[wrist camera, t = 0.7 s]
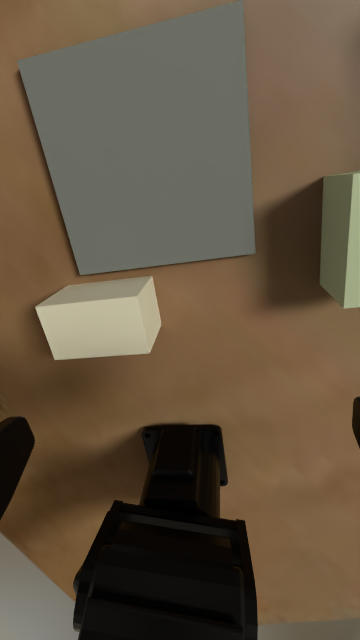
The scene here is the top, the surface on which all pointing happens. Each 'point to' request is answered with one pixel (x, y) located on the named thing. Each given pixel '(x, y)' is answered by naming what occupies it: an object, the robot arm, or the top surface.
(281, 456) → the top surface
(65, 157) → the coaster
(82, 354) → the brick cream
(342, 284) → the brick sage
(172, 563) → the robot arm
